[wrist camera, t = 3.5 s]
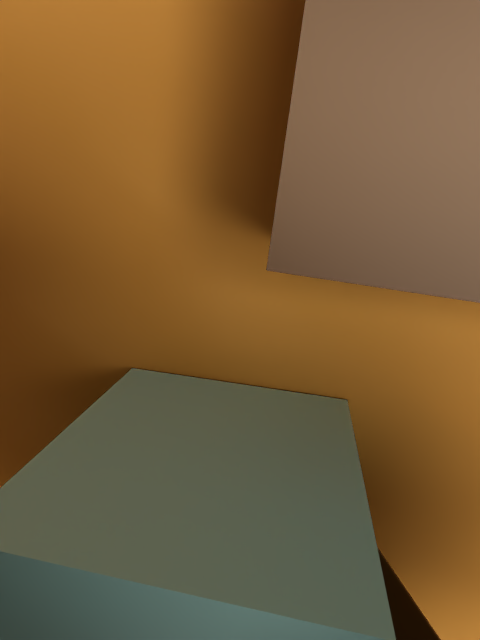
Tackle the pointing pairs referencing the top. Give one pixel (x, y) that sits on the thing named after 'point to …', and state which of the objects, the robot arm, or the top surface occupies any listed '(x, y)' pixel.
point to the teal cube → (193, 521)
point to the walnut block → (384, 148)
